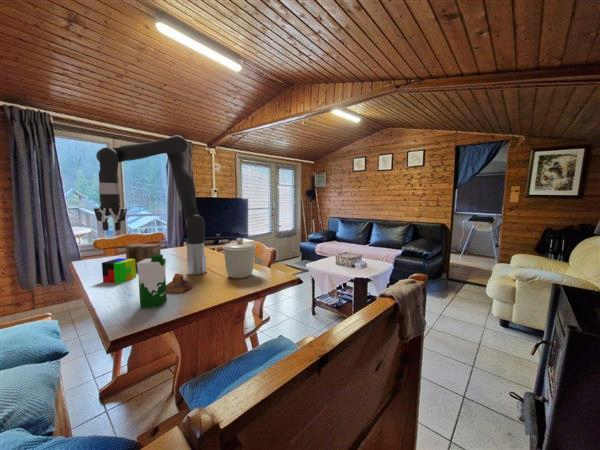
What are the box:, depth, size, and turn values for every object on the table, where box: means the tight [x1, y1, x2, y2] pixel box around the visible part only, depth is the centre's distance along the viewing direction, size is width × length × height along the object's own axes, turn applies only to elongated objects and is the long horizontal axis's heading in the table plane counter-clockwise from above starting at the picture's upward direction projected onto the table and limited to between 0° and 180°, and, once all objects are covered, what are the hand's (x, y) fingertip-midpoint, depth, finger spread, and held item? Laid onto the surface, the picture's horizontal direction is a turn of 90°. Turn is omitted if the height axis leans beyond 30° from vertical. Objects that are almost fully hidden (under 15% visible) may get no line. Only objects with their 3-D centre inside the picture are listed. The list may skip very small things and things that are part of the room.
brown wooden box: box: [125, 243, 161, 268], centre depth 155 cm, size 16×8×14 cm, turn 90°
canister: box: [222, 237, 257, 279], centre depth 143 cm, size 18×18×21 cm
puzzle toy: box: [101, 257, 137, 284], centre depth 134 cm, size 10×10×10 cm
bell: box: [166, 273, 193, 295], centre depth 122 cm, size 12×12×7 cm
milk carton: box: [136, 254, 168, 309], centre depth 104 cm, size 9×9×20 cm
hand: (111, 230), depth 120 cm, fingers open, 4 cm apart
